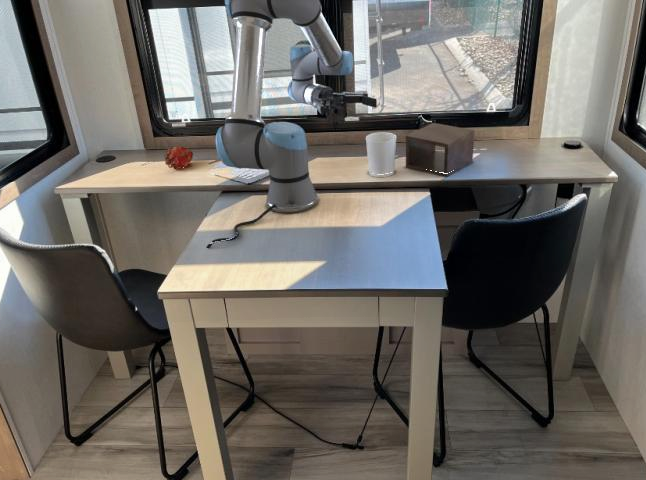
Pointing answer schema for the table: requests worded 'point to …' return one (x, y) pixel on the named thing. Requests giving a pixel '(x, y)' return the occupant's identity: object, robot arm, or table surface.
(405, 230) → the table surface
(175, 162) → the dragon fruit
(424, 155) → the dark brown cubby box
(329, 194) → the table surface
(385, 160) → the candle holder
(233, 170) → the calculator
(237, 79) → the robot arm
